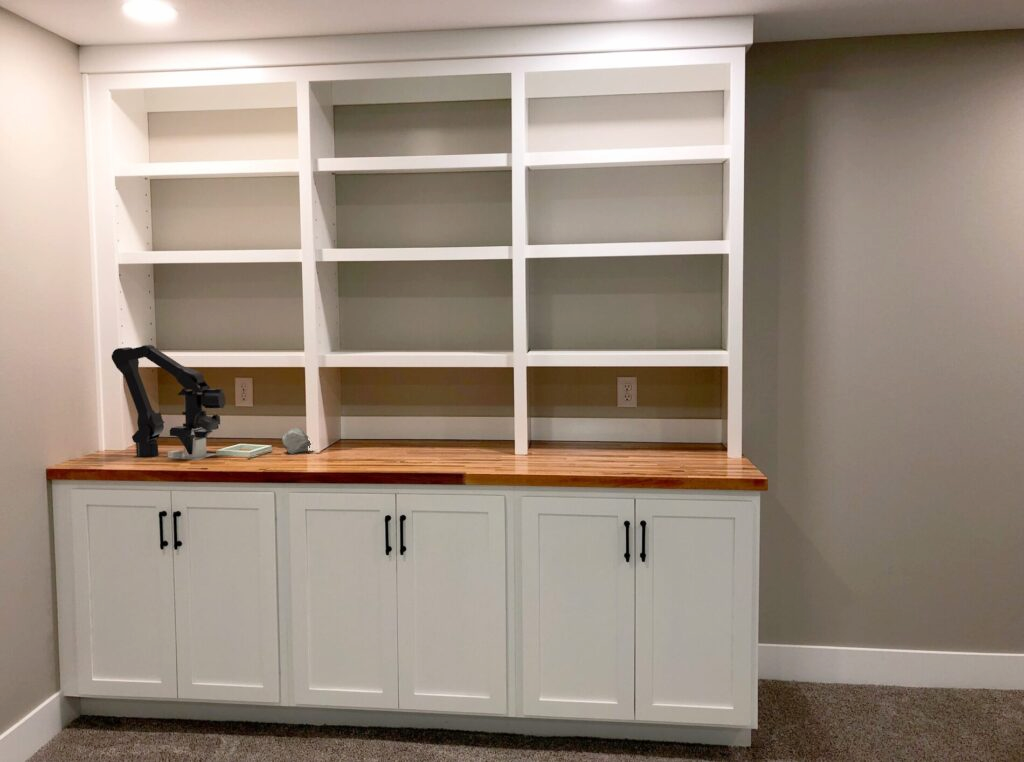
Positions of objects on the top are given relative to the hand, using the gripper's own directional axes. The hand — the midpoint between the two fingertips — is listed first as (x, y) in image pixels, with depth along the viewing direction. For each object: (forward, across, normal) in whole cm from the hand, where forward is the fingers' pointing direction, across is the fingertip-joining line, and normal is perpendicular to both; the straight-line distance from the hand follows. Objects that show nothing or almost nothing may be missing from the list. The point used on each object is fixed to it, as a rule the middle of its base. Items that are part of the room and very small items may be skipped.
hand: (195, 452), depth 291 cm
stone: (+2, +20, -27) cm, 34 cm away
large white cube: (+1, 0, 0) cm, 1 cm away
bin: (+2, +11, -12) cm, 16 cm away
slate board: (+2, 0, +1) cm, 2 cm away
